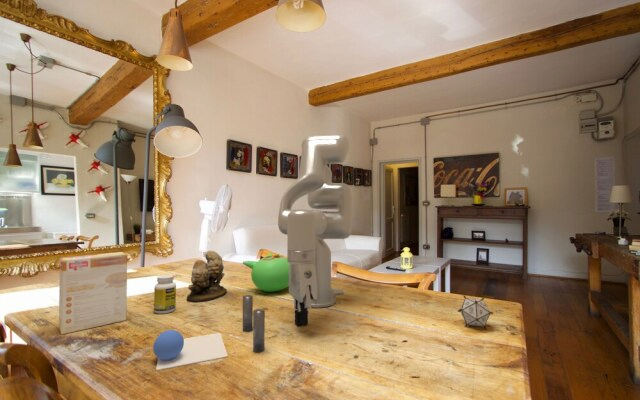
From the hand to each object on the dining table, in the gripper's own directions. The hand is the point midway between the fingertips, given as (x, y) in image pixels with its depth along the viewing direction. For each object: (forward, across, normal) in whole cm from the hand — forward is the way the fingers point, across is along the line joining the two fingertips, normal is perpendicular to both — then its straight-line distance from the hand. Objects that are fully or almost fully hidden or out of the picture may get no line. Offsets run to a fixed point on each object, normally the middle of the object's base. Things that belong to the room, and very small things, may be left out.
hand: (301, 325), depth 83 cm
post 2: (+2, -7, +13) cm, 15 cm away
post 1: (+2, +7, +13) cm, 15 cm away
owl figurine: (+2, +46, +20) cm, 50 cm away
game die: (+2, -17, -45) cm, 48 cm away
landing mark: (+2, 0, +27) cm, 27 cm away
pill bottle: (+2, +33, +34) cm, 47 cm away
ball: (-2, -2, +32) cm, 32 cm away
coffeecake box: (+2, +29, +52) cm, 60 cm away
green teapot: (+2, +43, -4) cm, 43 cm away
